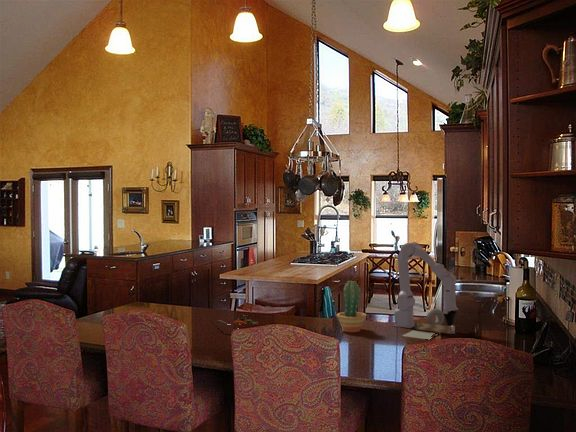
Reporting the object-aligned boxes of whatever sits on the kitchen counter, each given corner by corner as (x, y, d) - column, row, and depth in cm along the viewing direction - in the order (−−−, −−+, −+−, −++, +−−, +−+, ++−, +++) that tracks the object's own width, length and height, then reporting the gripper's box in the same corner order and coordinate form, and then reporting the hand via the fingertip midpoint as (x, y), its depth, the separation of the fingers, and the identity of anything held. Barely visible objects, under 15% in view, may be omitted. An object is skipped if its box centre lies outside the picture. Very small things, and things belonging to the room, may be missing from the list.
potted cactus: (371, 328, 275) (371, 280, 275) (358, 334, 262) (357, 284, 262) (345, 325, 284) (344, 278, 283) (330, 331, 271) (330, 282, 271)
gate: (414, 329, 270) (414, 322, 270) (415, 328, 271) (415, 322, 271) (449, 333, 260) (449, 326, 260) (450, 332, 261) (450, 326, 261)
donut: (428, 329, 272) (428, 309, 272) (425, 328, 275) (424, 308, 275) (445, 327, 275) (445, 308, 275) (441, 326, 278) (441, 307, 278)
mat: (401, 336, 258) (401, 335, 258) (413, 330, 269) (413, 330, 269) (429, 340, 250) (429, 339, 250) (440, 334, 261) (440, 333, 261)
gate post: (450, 334, 259) (450, 325, 259) (451, 334, 261) (451, 325, 261) (454, 335, 258) (454, 326, 258) (455, 334, 260) (455, 325, 260)
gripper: (452, 301, 258) (453, 329, 258) (462, 297, 270) (462, 324, 270) (438, 300, 262) (439, 328, 262) (448, 296, 274) (448, 322, 274)
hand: (450, 326), depth 267 cm, fingers closed
